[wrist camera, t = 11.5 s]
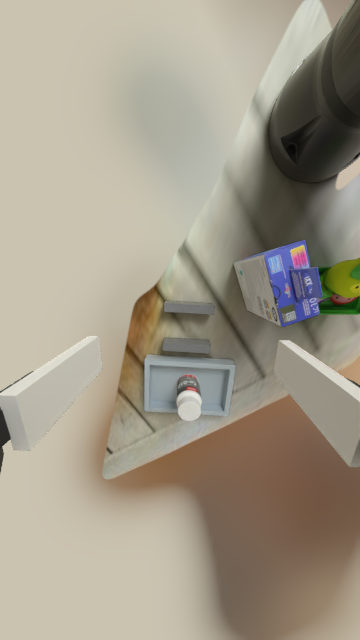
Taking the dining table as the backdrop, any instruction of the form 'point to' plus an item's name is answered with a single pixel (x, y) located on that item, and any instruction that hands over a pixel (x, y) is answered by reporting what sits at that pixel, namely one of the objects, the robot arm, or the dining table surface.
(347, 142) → the robot arm
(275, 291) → the ink cartridge box
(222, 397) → the parts tray
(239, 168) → the dining table surface
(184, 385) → the pill bottle
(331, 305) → the fruit basket
